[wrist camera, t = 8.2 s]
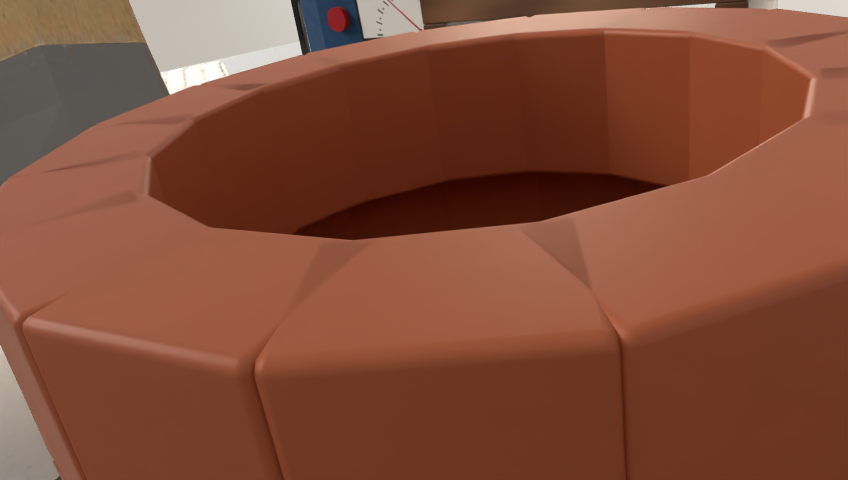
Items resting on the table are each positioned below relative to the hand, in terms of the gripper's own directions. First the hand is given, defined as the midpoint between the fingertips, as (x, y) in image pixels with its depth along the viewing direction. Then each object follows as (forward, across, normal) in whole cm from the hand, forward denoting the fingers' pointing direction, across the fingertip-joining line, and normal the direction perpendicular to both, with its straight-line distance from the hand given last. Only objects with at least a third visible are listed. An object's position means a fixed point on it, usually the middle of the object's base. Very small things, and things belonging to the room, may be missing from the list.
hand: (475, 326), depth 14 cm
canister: (-5, 0, -7) cm, 8 cm away
